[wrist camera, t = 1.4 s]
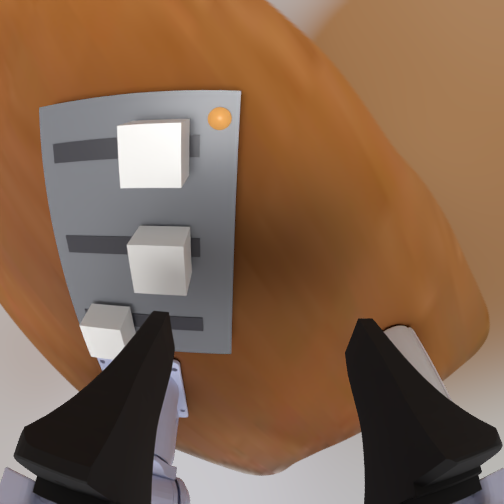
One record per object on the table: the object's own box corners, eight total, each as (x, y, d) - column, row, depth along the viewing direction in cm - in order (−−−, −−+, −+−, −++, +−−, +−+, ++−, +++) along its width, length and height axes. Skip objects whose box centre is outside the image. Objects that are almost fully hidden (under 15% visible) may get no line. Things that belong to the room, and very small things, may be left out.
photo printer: (403, 382, 30) (439, 474, 19) (367, 393, 30) (398, 490, 19) (413, 317, 25) (475, 428, 14) (370, 330, 25) (421, 453, 14)
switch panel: (231, 352, 25) (230, 373, 23) (99, 342, 25) (91, 360, 23) (240, 91, 16) (241, 90, 14) (55, 104, 15) (36, 108, 13)
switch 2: (189, 174, 16) (181, 187, 14) (135, 175, 16) (120, 188, 14) (189, 118, 14) (181, 122, 12) (133, 120, 14) (117, 125, 12)
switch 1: (137, 338, 21) (129, 361, 19) (101, 334, 21) (91, 356, 19) (129, 306, 20) (120, 330, 18) (91, 303, 20) (79, 325, 18)
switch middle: (191, 272, 19) (186, 295, 17) (144, 270, 19) (134, 293, 16) (190, 226, 17) (183, 246, 15) (139, 225, 17) (126, 244, 15)
